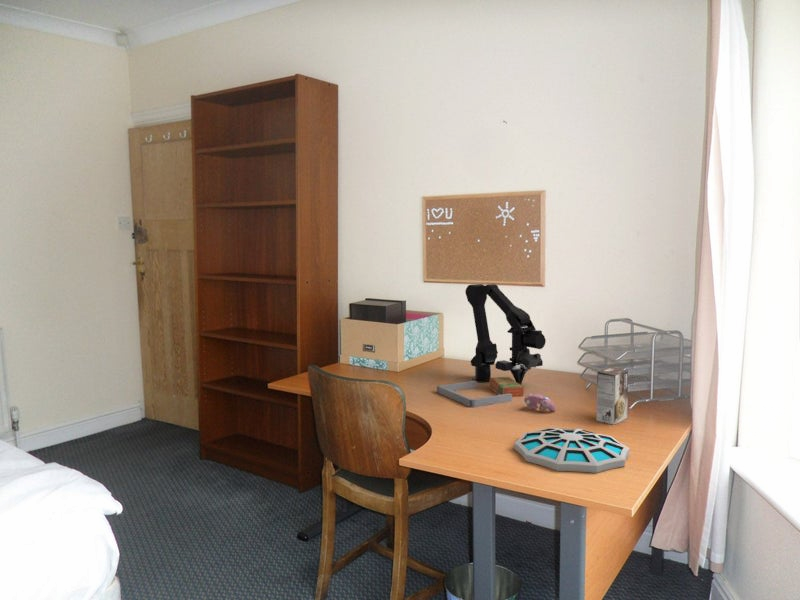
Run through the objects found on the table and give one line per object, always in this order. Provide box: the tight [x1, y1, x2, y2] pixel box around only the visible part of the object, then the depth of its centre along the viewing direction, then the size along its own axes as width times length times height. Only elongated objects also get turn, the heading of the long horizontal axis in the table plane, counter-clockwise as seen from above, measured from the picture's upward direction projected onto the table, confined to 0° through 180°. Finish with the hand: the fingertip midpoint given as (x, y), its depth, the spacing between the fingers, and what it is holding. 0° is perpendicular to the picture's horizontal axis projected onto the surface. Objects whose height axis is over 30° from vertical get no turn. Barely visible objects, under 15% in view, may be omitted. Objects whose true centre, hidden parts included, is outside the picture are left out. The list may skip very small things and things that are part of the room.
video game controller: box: [524, 393, 556, 413], centre depth 208 cm, size 10×5×7 cm, turn 48°
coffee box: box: [596, 366, 629, 426], centre depth 196 cm, size 9×6×16 cm
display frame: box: [436, 380, 513, 408], centre depth 226 cm, size 23×17×2 cm
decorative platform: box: [513, 427, 631, 474], centre depth 168 cm, size 31×29×5 cm
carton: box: [489, 376, 525, 398], centre depth 233 cm, size 8×16×4 cm, turn 9°
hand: (519, 385), depth 236 cm, fingers closed
